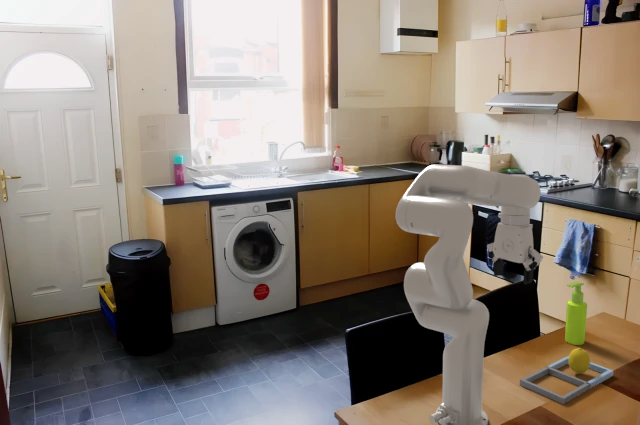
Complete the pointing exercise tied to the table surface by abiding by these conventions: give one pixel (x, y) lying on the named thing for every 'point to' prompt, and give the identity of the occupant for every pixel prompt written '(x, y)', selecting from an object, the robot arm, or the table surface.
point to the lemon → (579, 360)
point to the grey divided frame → (572, 394)
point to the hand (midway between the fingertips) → (512, 279)
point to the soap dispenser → (576, 316)
